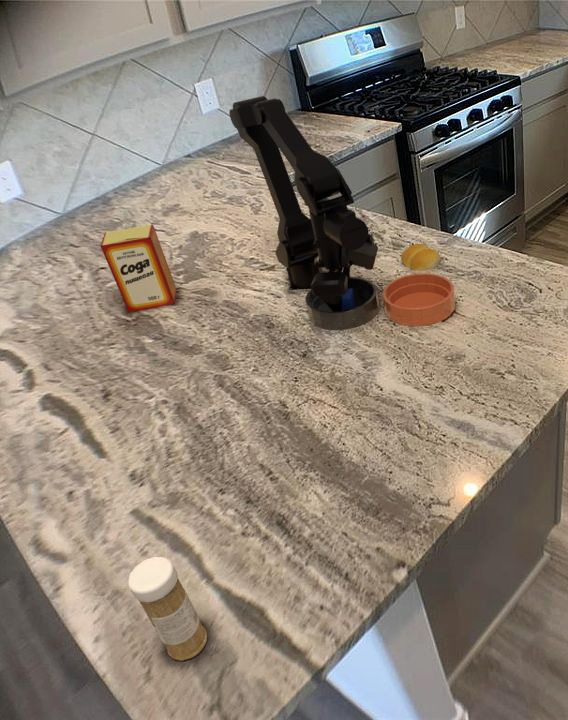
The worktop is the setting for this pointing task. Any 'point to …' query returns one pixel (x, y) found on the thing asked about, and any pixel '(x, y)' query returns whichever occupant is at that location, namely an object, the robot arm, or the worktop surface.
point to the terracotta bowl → (419, 299)
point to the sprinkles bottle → (168, 607)
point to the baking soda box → (139, 267)
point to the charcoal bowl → (345, 319)
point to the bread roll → (420, 257)
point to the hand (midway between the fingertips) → (342, 303)
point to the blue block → (348, 300)
